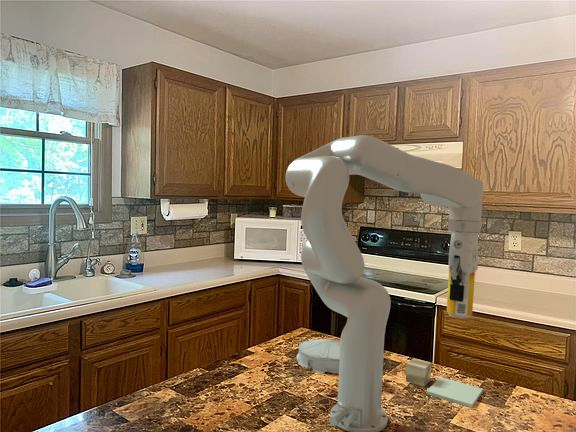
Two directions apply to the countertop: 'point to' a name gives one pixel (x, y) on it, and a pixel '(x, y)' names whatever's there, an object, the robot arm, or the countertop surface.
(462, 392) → the sage mat
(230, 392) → the countertop surface
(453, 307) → the beer can
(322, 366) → the food container
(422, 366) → the maple block
